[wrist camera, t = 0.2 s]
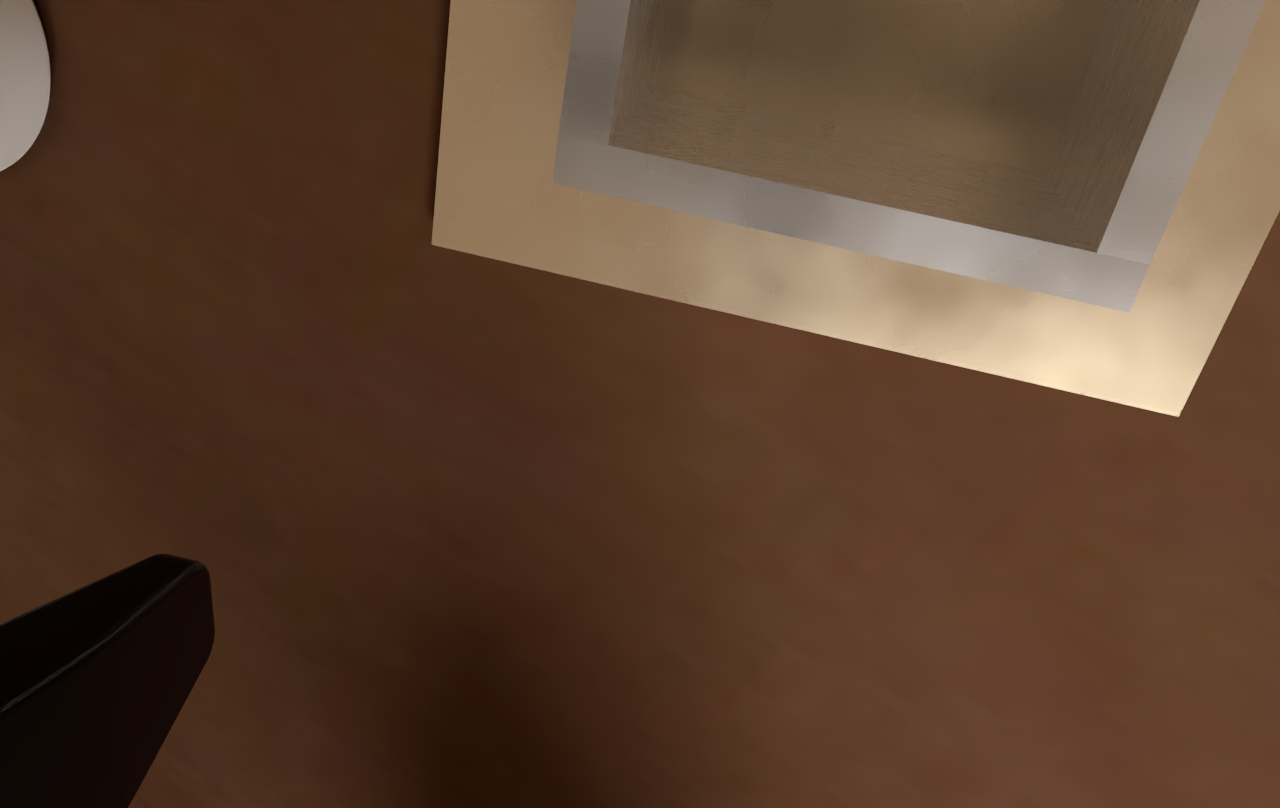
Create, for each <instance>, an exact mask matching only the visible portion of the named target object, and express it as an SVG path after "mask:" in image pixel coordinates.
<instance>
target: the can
mask: <svg viewBox="0 0 1280 808" xmlns="http://www.w3.org/2000/svg"><path fill="white" fill-rule="evenodd" d="M50 74H51V70H50V56H49V49H48V43H47V38H46V34H45V30H44V27H43V23H42V20H41V17H40V15H39V12H38V9H37V7H36V5H35V2H34V0H0V171H2V170H4V169H6V168H8V167H9V166H11V165H12V164H14V163H15V162H16V161H18V160H19V159H20V158H21V157H22V156H23V155H24V154H25V153H26V152H27V151H28V150H29V148H30V147H31V146H32V144H33V143H34V141H35V140H36V138H37V136H38V134H39V132H40V130H41V128H42V125H43V123H44V120H45V117H46V113H47V109H48V103H49V96H50Z"/></svg>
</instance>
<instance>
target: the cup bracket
mask: <svg viewBox="0 0 1280 808" xmlns="http://www.w3.org/2000/svg"><path fill="white" fill-rule="evenodd" d="M1279 211H1280V0H451V2H450V15H449V28H448V41H447V53H446V66H445V79H444V92H443V105H442V117H441V130H440V143H439V156H438V169H437V182H436V194H435V207H434V220H433V233H432V245H435V246H440V247H444V248H448V249H453V250H457V251H461V252H466V253H470V254H475V255H479V256H483V257H488V258H492V259H496V260H501V261H505V262H509V263H514V264H518V265H522V266H527V267H531V268H535V269H540V270H544V271H548V272H553V273H557V274H561V275H566V276H570V277H574V278H579V279H583V280H587V281H592V282H596V283H600V284H605V285H609V286H613V287H618V288H622V289H626V290H631V291H635V292H639V293H644V294H648V295H652V296H657V297H661V298H665V299H670V300H674V301H678V302H683V303H687V304H691V305H696V306H700V307H704V308H709V309H713V310H717V311H722V312H726V313H730V314H735V315H739V316H743V317H748V318H752V319H756V320H761V321H765V322H769V323H774V324H778V325H782V326H787V327H791V328H795V329H800V330H804V331H808V332H813V333H817V334H821V335H826V336H830V337H834V338H839V339H843V340H847V341H852V342H856V343H860V344H865V345H869V346H873V347H878V348H882V349H886V350H891V351H895V352H899V353H904V354H908V355H912V356H917V357H921V358H925V359H930V360H934V361H938V362H943V363H947V364H951V365H956V366H960V367H964V368H969V369H973V370H978V371H982V372H986V373H991V374H995V375H999V376H1004V377H1008V378H1012V379H1017V380H1021V381H1025V382H1030V383H1034V384H1038V385H1043V386H1047V387H1051V388H1056V389H1060V390H1064V391H1069V392H1073V393H1077V394H1082V395H1086V396H1090V397H1095V398H1099V399H1103V400H1108V401H1112V402H1116V403H1121V404H1125V405H1129V406H1134V407H1138V408H1142V409H1147V410H1151V411H1155V412H1160V413H1164V414H1168V415H1173V416H1177V417H1179V415H1180V413H1181V411H1182V409H1183V407H1184V405H1185V403H1186V401H1187V399H1188V397H1189V395H1190V393H1191V390H1192V388H1193V386H1194V384H1195V382H1196V380H1197V378H1198V376H1199V374H1200V372H1201V370H1202V368H1203V366H1204V364H1205V362H1206V360H1207V358H1208V356H1209V354H1210V352H1211V350H1212V348H1213V345H1214V343H1215V341H1216V339H1217V337H1218V335H1219V333H1220V331H1221V329H1222V327H1223V325H1224V323H1225V321H1226V319H1227V317H1228V315H1229V313H1230V311H1231V309H1232V307H1233V305H1234V303H1235V300H1236V298H1237V296H1238V294H1239V292H1240V290H1241V288H1242V286H1243V284H1244V282H1245V280H1246V278H1247V276H1248V274H1249V272H1250V270H1251V268H1252V266H1253V264H1254V262H1255V260H1256V258H1257V255H1258V253H1259V251H1260V249H1261V247H1262V245H1263V243H1264V241H1265V239H1266V237H1267V235H1268V233H1269V231H1270V229H1271V227H1272V225H1273V223H1274V221H1275V219H1276V217H1277V215H1278V213H1279Z"/></svg>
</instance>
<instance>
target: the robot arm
mask: <svg viewBox="0 0 1280 808" xmlns="http://www.w3.org/2000/svg"><path fill="white" fill-rule="evenodd" d="M214 635H215V628H214V617H213V606H212V594H211V583H210V576H209V571H208V570H207V568H206V566H205V565H204V564H202V563H200V562H198V561H194V560H190V559H186V558H182V557H177V556H173V555H169V554H158V555H154V556H151V557H149V558H147V559H144V560H142V561H140V562H138V563H135V564H133V565H131V566H129V567H127V568H124V569H122V570H120V571H118V572H115V573H113V574H111V575H109V576H107V577H104V578H102V579H100V580H98V581H95V582H93V583H91V584H89V585H87V586H84V587H82V588H80V589H78V590H75V591H73V592H71V593H69V594H67V595H64V596H62V597H60V598H58V599H55V600H53V601H51V602H49V603H46V604H44V605H42V606H40V607H38V608H35V609H33V610H31V611H29V612H26V613H24V614H22V615H20V616H18V617H15V618H13V619H11V620H9V621H6V622H4V623H2V624H0V808H128V806H129V805H130V803H131V801H132V799H133V798H134V796H135V794H136V792H137V791H138V789H139V787H140V785H141V783H142V781H143V780H144V778H145V776H146V774H147V772H148V770H149V768H150V766H151V765H152V763H153V761H154V759H155V757H156V755H157V753H158V752H159V750H160V748H161V746H162V744H163V742H164V740H165V738H166V737H167V735H168V733H169V731H170V729H171V727H172V725H173V723H174V722H175V720H176V718H177V716H178V714H179V712H180V710H181V709H182V707H183V705H184V703H185V701H186V699H187V697H188V695H189V694H190V692H191V690H192V688H193V686H194V684H195V682H196V680H197V679H198V677H199V675H200V673H201V671H202V669H203V667H204V666H205V664H206V662H207V660H208V658H209V655H210V653H211V650H212V646H213V642H214Z"/></svg>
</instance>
